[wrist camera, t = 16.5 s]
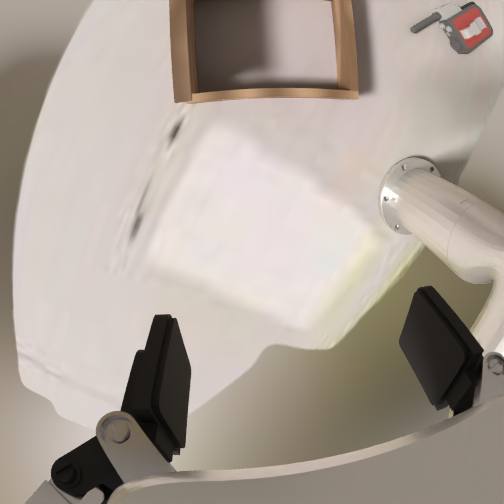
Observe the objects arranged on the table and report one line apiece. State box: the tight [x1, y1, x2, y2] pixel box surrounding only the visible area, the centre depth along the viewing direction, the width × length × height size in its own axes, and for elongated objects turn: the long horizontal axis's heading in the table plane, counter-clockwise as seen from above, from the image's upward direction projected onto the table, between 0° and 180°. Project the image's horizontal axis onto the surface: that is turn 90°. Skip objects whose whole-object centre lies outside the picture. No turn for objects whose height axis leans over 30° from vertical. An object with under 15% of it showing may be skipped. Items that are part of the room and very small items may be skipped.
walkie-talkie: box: [411, 2, 493, 54], centre depth 25 cm, size 9×4×20 cm
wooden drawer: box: [169, 0, 359, 104], centre depth 25 cm, size 20×16×10 cm
